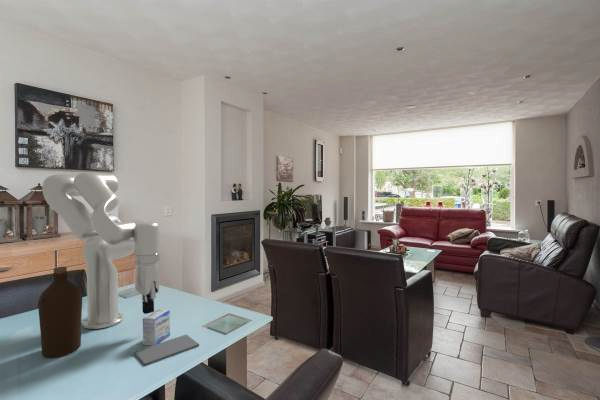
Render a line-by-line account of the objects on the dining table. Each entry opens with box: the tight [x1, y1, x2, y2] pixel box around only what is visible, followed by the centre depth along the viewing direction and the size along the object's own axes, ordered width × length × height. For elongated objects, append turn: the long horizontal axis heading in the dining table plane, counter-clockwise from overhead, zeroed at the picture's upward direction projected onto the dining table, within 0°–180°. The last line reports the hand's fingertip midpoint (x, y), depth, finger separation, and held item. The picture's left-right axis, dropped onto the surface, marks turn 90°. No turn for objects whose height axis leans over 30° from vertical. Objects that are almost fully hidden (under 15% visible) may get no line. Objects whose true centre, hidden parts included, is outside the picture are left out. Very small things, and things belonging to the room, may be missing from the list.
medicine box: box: [142, 308, 171, 346], centre depth 103 cm, size 8×4×9 cm, turn 168°
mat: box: [133, 334, 200, 366], centre depth 97 cm, size 9×16×1 cm, turn 134°
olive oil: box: [37, 266, 83, 359], centre depth 96 cm, size 11×11×25 cm
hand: (148, 312), depth 108 cm, fingers closed
